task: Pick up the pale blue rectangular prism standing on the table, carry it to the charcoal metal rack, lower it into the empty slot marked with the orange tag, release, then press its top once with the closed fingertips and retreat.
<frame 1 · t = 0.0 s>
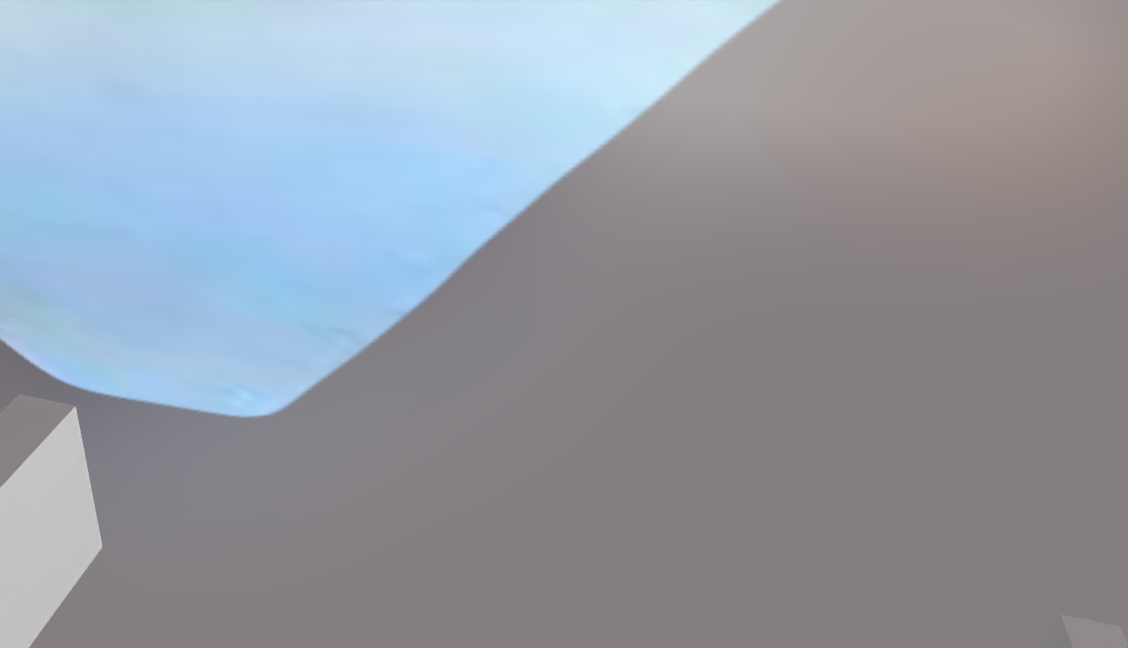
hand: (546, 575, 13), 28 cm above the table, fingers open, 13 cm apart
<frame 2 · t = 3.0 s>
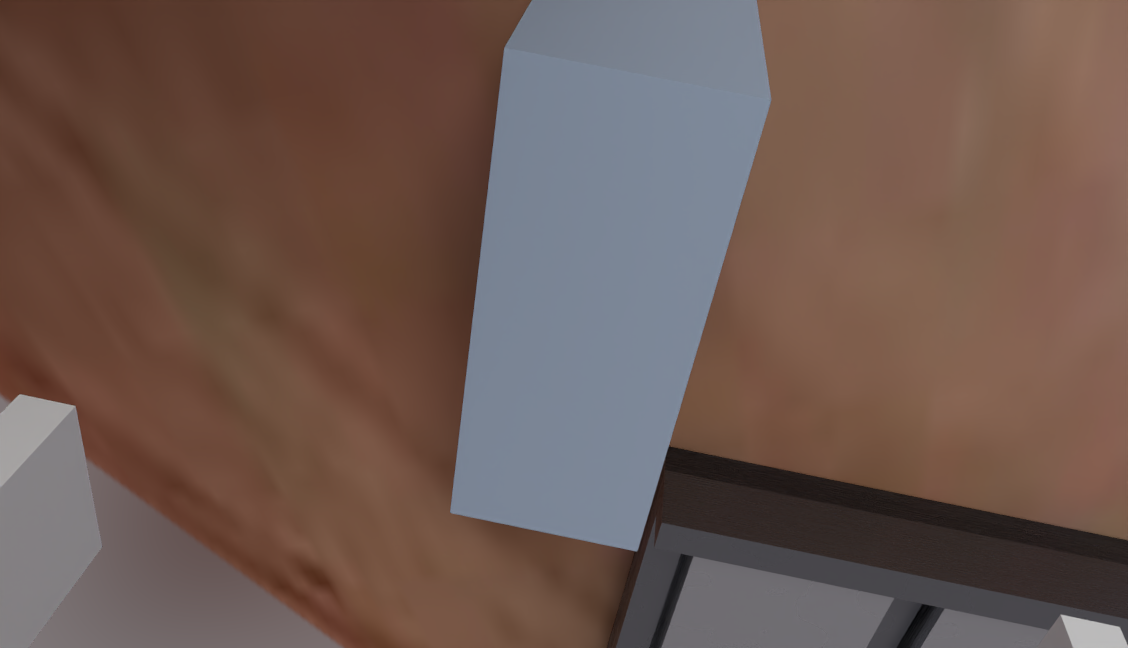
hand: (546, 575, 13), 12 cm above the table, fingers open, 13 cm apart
pale blue rectangular prism: (615, 174, 22), on the table
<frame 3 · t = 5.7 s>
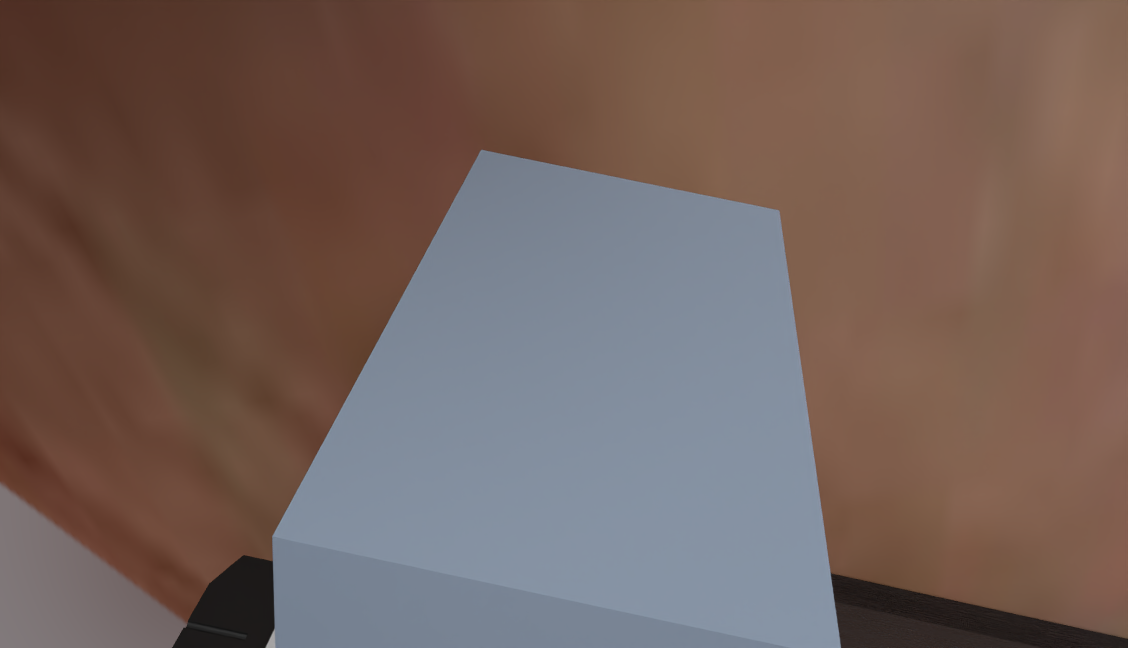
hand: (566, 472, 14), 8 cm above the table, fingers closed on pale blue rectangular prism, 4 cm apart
pale blue rectangular prism: (569, 459, 15), point 7 cm above the table, touching gripper
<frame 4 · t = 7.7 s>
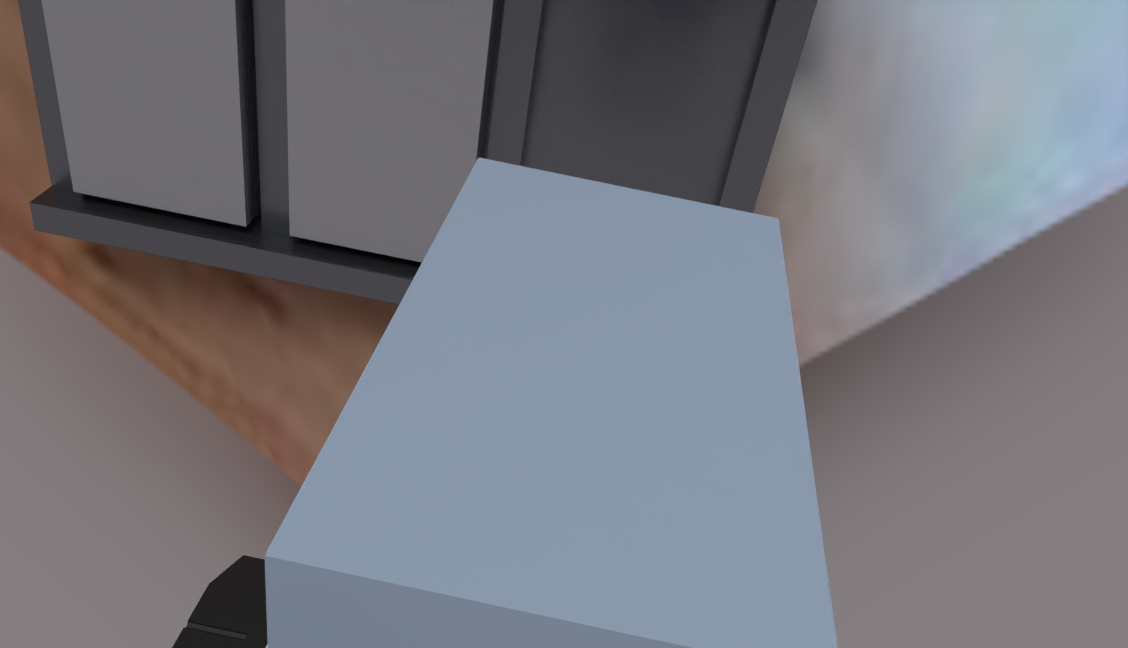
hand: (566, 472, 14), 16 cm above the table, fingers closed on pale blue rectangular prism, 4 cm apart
rack: (408, 53, 28), on the table
pale blue rectangular prism: (567, 467, 15), point 16 cm above the table, touching gripper
when the fingers open (2 cm above the table, at t = 9.8 s): pale blue rectangular prism stays where it is, resting on rack.
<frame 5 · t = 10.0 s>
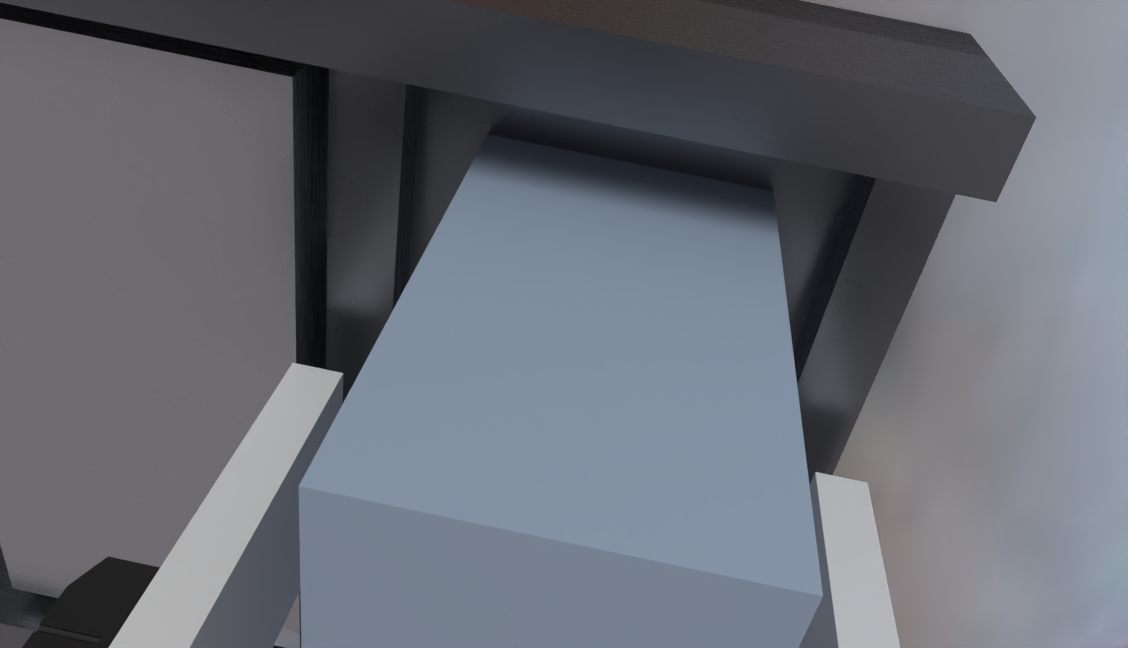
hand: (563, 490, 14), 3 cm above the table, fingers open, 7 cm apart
rack: (195, 304, 16), on the table
pale blue rectangular prism: (573, 434, 16), point 1 cm above the table, touching rack
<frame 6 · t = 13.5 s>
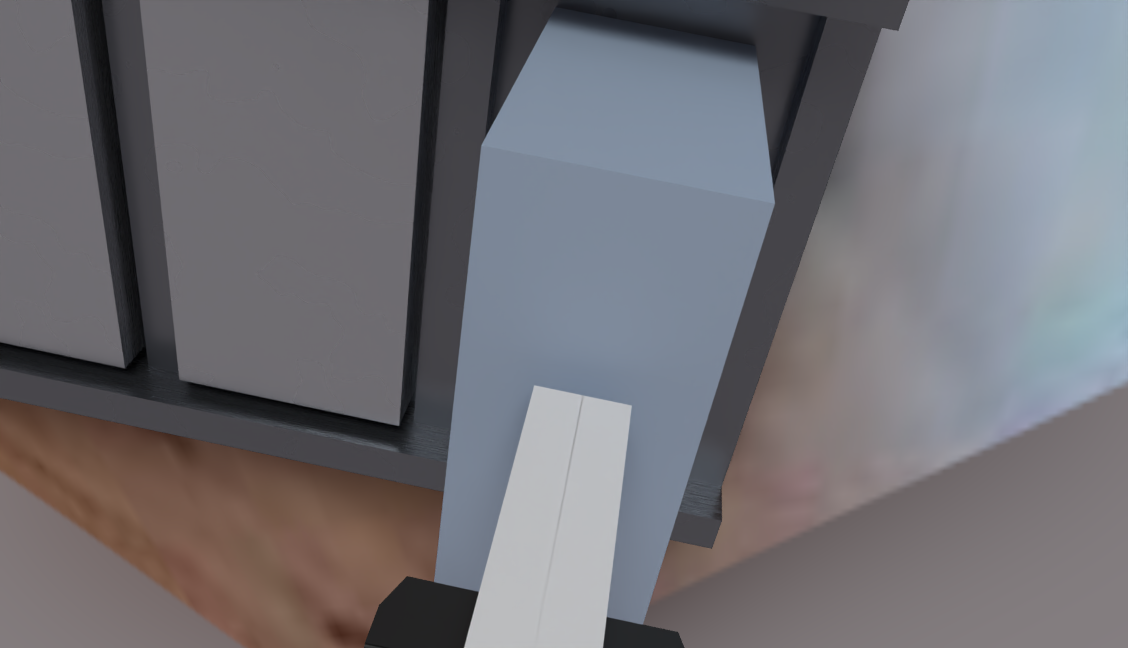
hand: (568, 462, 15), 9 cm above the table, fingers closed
rack: (325, 155, 22), on the table
pale blue rectangular prism: (609, 245, 21), point 1 cm above the table, touching rack
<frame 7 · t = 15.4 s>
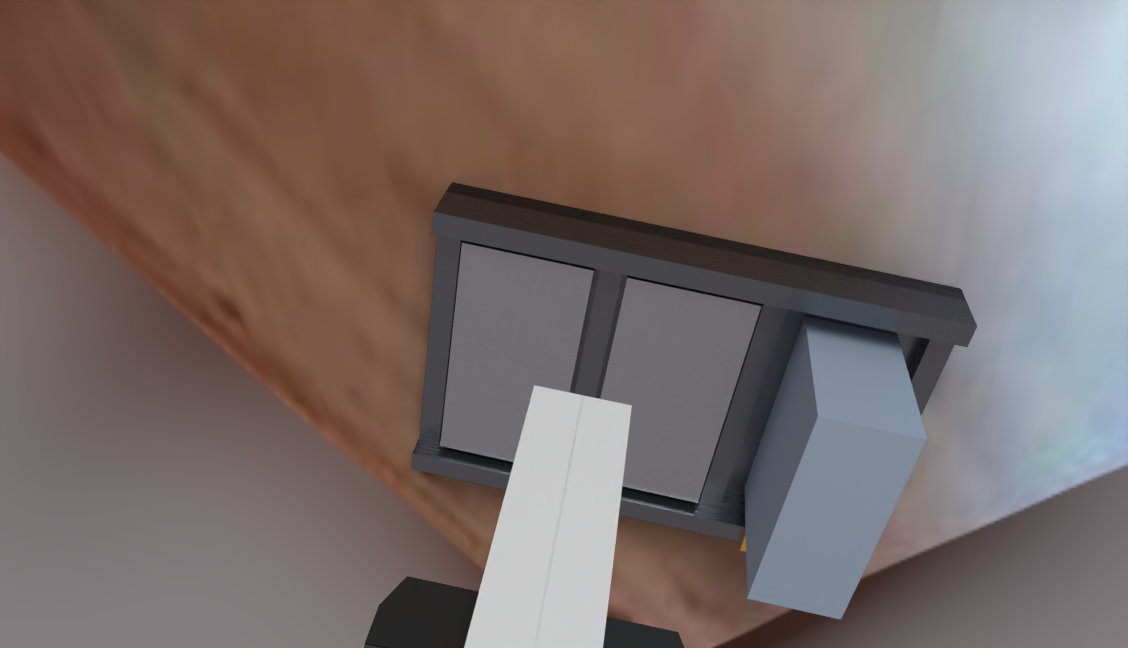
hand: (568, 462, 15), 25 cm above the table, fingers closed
rack: (668, 366, 43), on the table
pale blue rectangular prism: (816, 416, 42), point 1 cm above the table, touching rack
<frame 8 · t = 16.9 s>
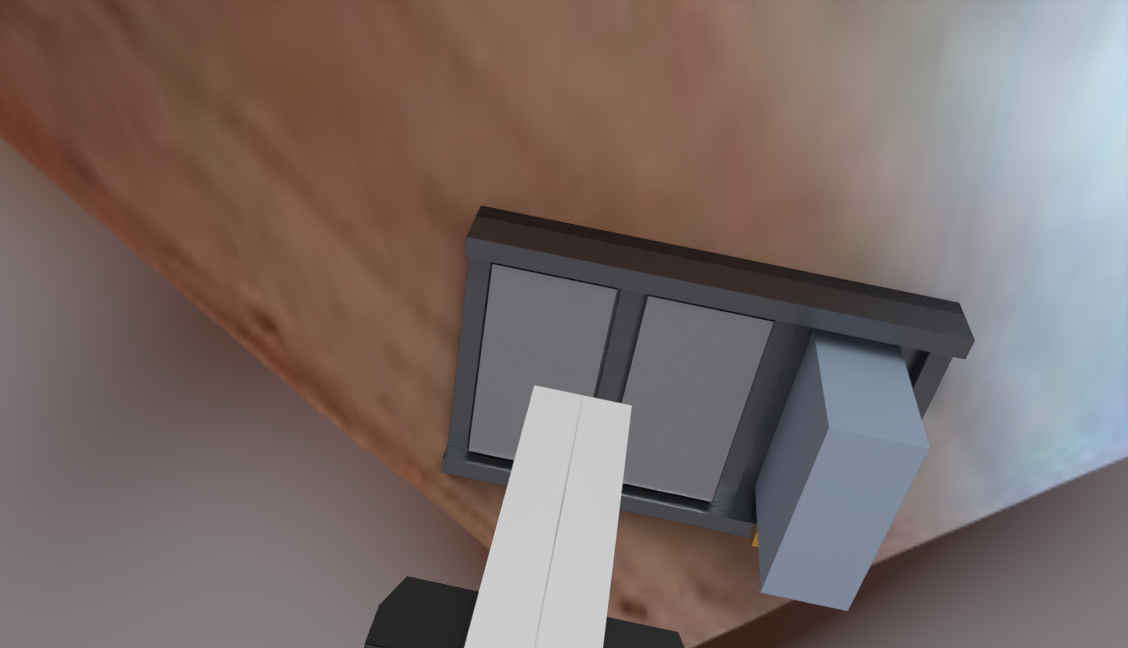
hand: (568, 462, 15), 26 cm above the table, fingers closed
rack: (683, 374, 46), on the table
pale blue rectangular prism: (823, 420, 45), point 1 cm above the table, touching rack
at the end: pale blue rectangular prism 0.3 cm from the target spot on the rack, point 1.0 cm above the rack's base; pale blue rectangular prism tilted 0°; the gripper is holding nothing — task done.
